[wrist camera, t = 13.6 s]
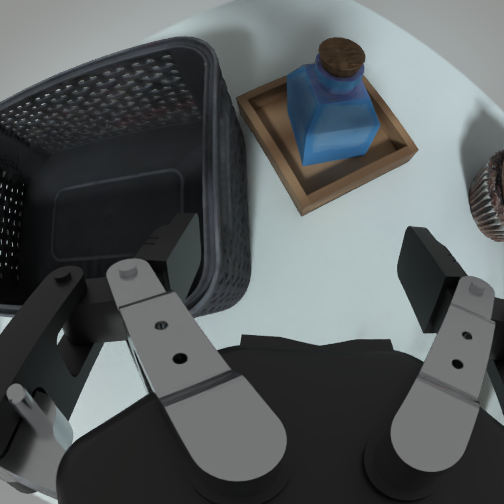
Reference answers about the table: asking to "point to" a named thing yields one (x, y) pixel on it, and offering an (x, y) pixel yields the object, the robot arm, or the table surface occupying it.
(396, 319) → the table surface
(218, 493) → the robot arm
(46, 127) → the storage bin
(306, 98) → the perfume bottle
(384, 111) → the tray
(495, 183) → the cupcake
